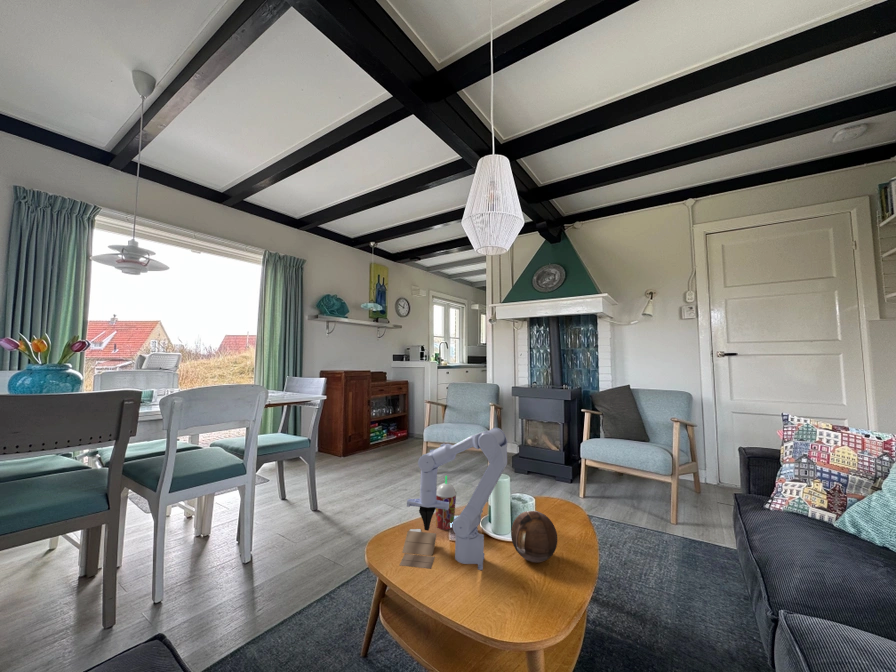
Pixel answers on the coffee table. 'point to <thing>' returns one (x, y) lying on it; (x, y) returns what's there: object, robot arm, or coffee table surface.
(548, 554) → the wooden sphere
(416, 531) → the light grey block
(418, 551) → the board
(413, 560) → the laid board
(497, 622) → the coffee table surface
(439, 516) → the smoothie
